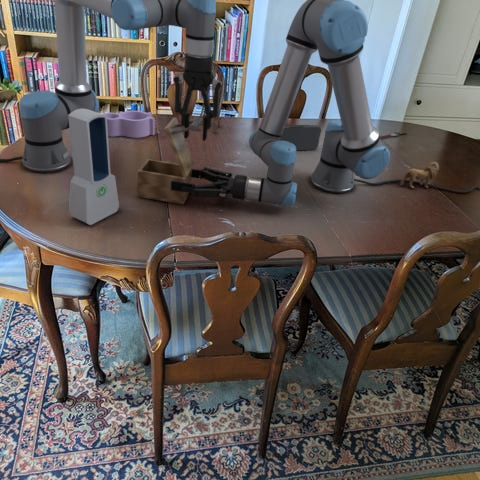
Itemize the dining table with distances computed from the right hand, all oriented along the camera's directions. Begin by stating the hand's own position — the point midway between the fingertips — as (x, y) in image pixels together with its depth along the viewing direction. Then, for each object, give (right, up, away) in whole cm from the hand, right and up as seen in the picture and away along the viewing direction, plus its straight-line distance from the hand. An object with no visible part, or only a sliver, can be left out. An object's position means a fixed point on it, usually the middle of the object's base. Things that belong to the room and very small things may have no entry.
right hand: (175, 178), depth 146 cm
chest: (-4, -4, +3) cm, 7 cm away
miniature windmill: (+6, +29, +58) cm, 65 cm away
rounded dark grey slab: (+41, +18, +46) cm, 64 cm away
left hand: (+7, +11, -8) cm, 15 cm away
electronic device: (-22, -12, -11) cm, 27 cm away
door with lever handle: (+2, +8, -6) cm, 10 cm away
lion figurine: (+85, +1, +27) cm, 90 cm away
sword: (+88, +27, +69) cm, 114 cm away
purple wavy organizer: (-25, +25, +45) cm, 57 cm away
